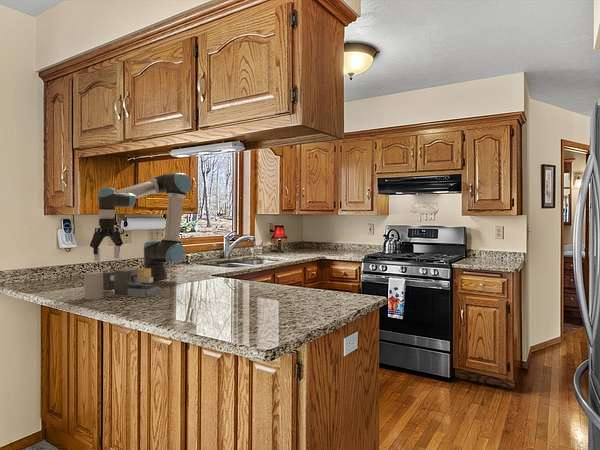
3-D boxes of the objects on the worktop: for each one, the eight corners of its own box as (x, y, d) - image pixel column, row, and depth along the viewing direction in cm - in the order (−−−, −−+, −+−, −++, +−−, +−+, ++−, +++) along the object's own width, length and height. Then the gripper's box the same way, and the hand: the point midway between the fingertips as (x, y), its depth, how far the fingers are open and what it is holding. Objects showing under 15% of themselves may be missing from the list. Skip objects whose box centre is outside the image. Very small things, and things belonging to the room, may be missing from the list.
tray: (141, 291, 218) (141, 285, 218) (159, 293, 214) (159, 286, 214) (127, 295, 208) (127, 288, 208) (146, 297, 205) (146, 289, 205)
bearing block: (128, 290, 220) (128, 267, 220) (141, 291, 218) (141, 268, 217) (114, 294, 211) (114, 270, 210) (127, 295, 208) (127, 271, 208)
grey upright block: (102, 298, 201) (102, 273, 201) (83, 300, 198) (83, 274, 198) (103, 295, 209) (103, 271, 208) (85, 296, 206) (85, 272, 205)
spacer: (144, 275, 214) (144, 268, 214) (151, 276, 213) (151, 268, 212) (137, 277, 209) (137, 269, 209) (144, 277, 208) (144, 269, 208)
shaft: (107, 288, 221) (106, 271, 221) (154, 292, 212) (153, 274, 211) (101, 290, 217) (101, 272, 217) (148, 293, 208) (148, 275, 208)
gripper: (118, 217, 230) (118, 257, 230) (81, 218, 206) (81, 261, 207) (129, 218, 228) (130, 257, 228) (93, 218, 204) (94, 262, 204)
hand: (107, 259), depth 217 cm, fingers open, 13 cm apart
